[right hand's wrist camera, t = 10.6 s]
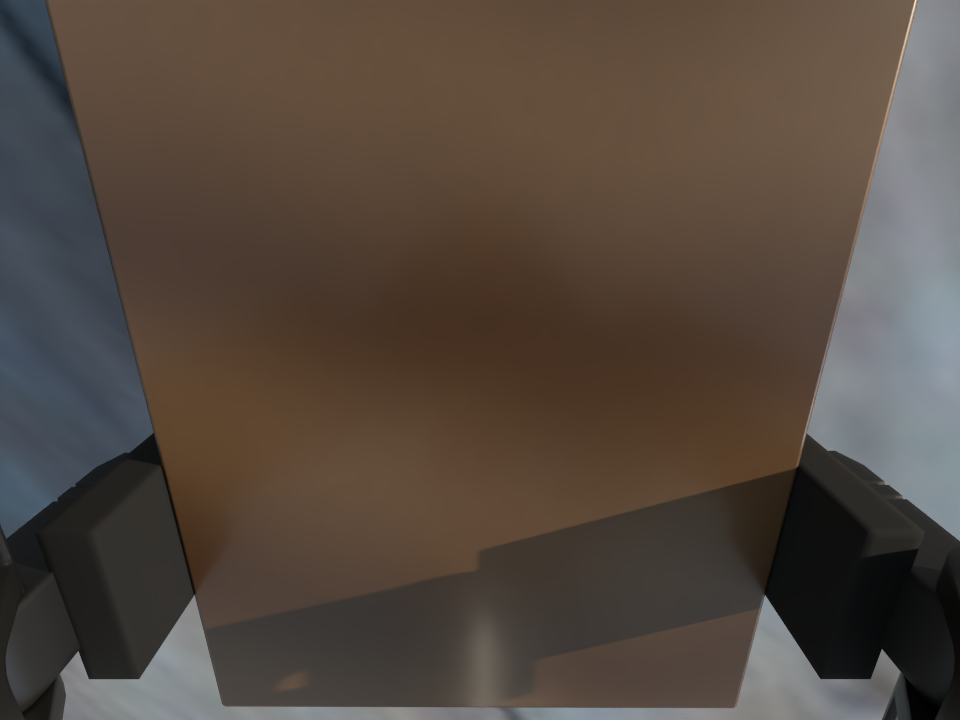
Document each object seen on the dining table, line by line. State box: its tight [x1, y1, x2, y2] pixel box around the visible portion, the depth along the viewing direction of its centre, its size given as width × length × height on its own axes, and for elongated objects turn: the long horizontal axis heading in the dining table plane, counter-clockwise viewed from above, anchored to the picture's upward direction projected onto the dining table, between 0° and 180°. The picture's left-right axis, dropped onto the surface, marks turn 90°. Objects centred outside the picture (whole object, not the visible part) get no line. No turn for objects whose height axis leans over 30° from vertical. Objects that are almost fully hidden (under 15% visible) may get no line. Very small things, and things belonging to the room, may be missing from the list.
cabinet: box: [45, 0, 918, 708], centre depth 12 cm, size 17×10×11 cm, turn 0°
